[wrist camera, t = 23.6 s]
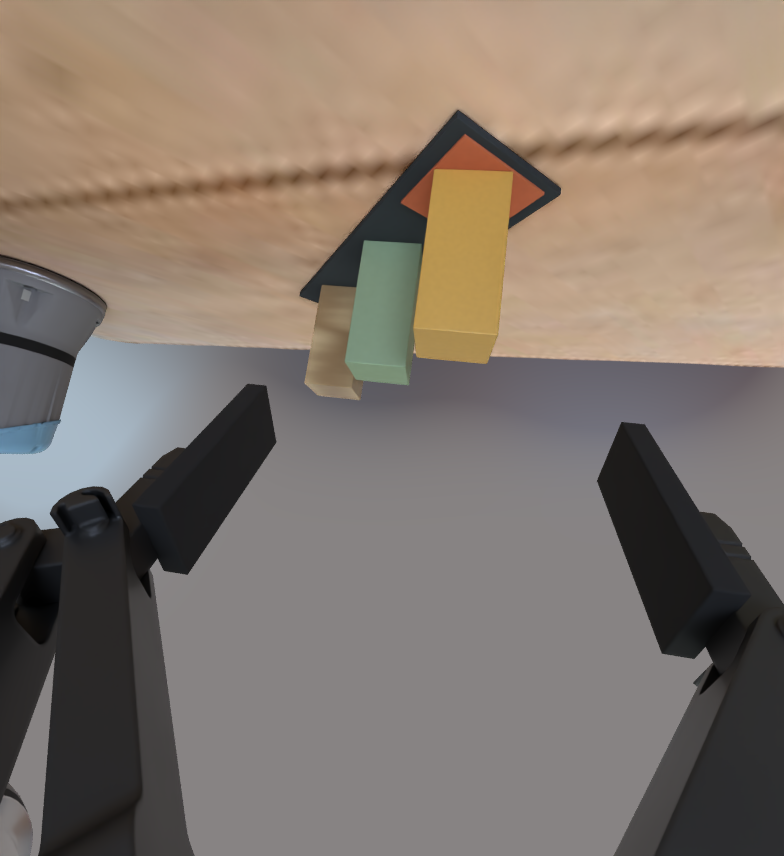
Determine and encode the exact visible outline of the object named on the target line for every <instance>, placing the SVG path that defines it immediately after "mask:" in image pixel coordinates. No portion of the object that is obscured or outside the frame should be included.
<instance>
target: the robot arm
mask: <svg viewBox="0 0 784 856" xmlns="http://www.w3.org/2000/svg"><path fill="white" fill-rule="evenodd" d="M106 308H107V307H106V305H105V303H104V302H103V301H102V300H101V299H100V298H99V297H98V296H96V295H95V294H94V293H92V292H91V291H89V290H87V289H86V288H84V287H82V286H80V285H78V284H76V283H74V282H72V281H70V280H68V279H66V278H64V277H61V276H59V275H57V274H54V273H52V272H49V271H47V270H44V269H41V268H39V267H36V266H33V265H30V264H27V263H24V262H20V261H17V260H13V259H9V258H5V257H1V256H0V454H34V453H38V452H42V451H44V450H45V449H47V448H48V447H49V446H50V444H51V442H52V439H53V437H54V433H55V431H56V428H57V425H58V424H59V423H60V421H61V420H59V419H60V415H61V411H62V408H63V404H64V400H65V397H66V393H67V389H68V386H69V382H70V378H71V375H72V371H73V367H74V363H75V360H76V357H77V354H78V352H79V351H80V349H81V348H82V347H83V345H84V344H85V343H86V342H87V340H88V339H89V337H90V336H91V335H92V333H93V331H94V330H95V328H96V327H97V326H99V325H100V324H101V322H102V320H103V319H104V316H105V312H106ZM275 444H276V438H275V432H274V427H273V421H272V415H271V410H270V404H269V399H268V393H267V387H266V386H264V385H255V384H247V385H246V386H245V387H244V388H243V389H242V390H241V391H240V392H239V394H238V395H237V396H236V397H235V398H234V399H233V400H232V401H231V402H230V403H229V404H228V405H227V406H226V407H225V408H224V409H223V410H222V411H221V412H220V413H219V414H218V416H216V418H214V419H213V421H212V422H211V423H210V424H209V425H208V426H207V427H206V428H205V429H204V430H203V431H202V432H201V433H200V434H199V435H198V436H197V437H196V438H195V439H194V440H193V442H191V444H190V445H189V446H188V447H187V448H176V449H174V450H172V451H170V452H169V453H167V454H165V455H163V456H162V457H161V458H160V459H159V460H158V461H157V462H156V463H155V464H154V465H153V466H152V469H149V470H148V471H147V472H146V473H145V474H144V475H143V478H140V479H139V480H138V481H137V482H136V483H135V484H134V485H133V486H132V487H131V488H130V489H129V490H128V491H127V492H126V493H125V494H124V495H123V496H122V497H121V498H120V499H119V500H118V501H117V502H116V503H115V501H114V499H113V497H112V495H111V494H110V492H109V490H108V489H106V488H103V487H87V488H82V489H79V490H77V491H74V492H72V493H70V494H68V495H66V496H65V497H63V498H61V499H60V500H59V501H58V502H57V503H56V504H55V505H54V506H53V507H52V510H51V512H50V515H51V516H52V518H53V519H54V521H55V522H56V524H57V525H58V527H59V528H56V529H47V530H40V528H39V527H38V525H37V524H36V523H35V521H34V520H32V519H29V518H16V519H13V520H9V521H5V522H3V523H0V856H30V853H31V847H32V837H33V831H32V825H31V821H30V818H29V815H28V813H27V810H26V808H25V806H24V804H23V802H22V800H21V798H20V796H19V795H18V793H17V792H16V791H15V790H14V789H13V787H12V786H11V785H10V784H9V783H8V782H9V779H10V776H11V773H12V771H13V768H14V765H15V762H16V759H17V757H18V754H19V751H20V749H21V746H22V743H23V740H24V737H25V735H26V732H27V729H28V726H29V723H30V721H31V718H32V715H33V713H34V710H35V707H36V704H37V701H38V698H39V696H40V693H41V690H42V688H43V685H44V682H45V679H46V676H47V674H48V671H49V668H50V666H51V663H52V660H53V657H54V654H55V664H54V678H53V691H52V703H51V717H50V729H49V743H48V755H47V768H46V782H45V795H44V808H43V821H42V834H41V844H40V851H39V855H38V856H194V853H193V850H192V848H191V845H190V842H189V838H188V834H187V828H186V821H185V814H184V806H183V799H182V791H181V784H180V776H179V769H178V761H177V754H176V746H175V739H174V732H173V724H172V716H171V709H170V701H169V694H168V687H167V679H166V671H165V664H164V656H163V649H162V641H161V634H160V627H159V619H158V612H157V604H156V596H155V589H154V582H153V575H152V573H151V571H150V568H151V566H152V565H153V564H154V562H155V561H156V560H157V558H158V560H159V562H160V564H161V566H162V568H163V570H164V571H168V572H175V573H180V574H186V575H188V573H189V572H190V570H191V569H192V567H193V566H194V564H195V563H196V561H197V560H198V558H199V557H200V555H201V554H202V552H203V551H204V550H205V548H206V546H207V545H208V543H209V542H210V541H211V539H212V537H213V536H214V535H215V533H216V532H217V530H218V529H219V527H220V525H221V524H222V523H223V521H224V520H225V518H226V517H227V515H228V514H229V512H230V511H231V509H232V508H233V506H234V505H235V503H236V502H237V500H238V498H239V497H240V496H241V494H242V493H243V491H244V490H245V488H246V487H247V485H248V484H249V482H250V481H251V479H252V478H253V476H254V475H255V473H256V472H257V470H258V469H259V467H260V466H261V464H262V463H263V461H264V460H265V458H266V457H267V455H268V454H269V452H270V451H271V450H272V448H273V446H274V445H275ZM597 482H598V485H599V487H600V490H601V493H602V495H603V498H604V501H605V503H606V506H607V508H608V511H609V514H610V517H611V519H612V522H613V525H614V527H615V530H616V532H617V535H618V538H619V541H620V543H621V546H622V548H623V551H624V554H625V556H626V559H627V561H628V564H629V567H630V570H631V572H632V575H633V578H634V580H635V583H636V586H637V588H638V591H639V594H640V596H641V599H642V602H643V604H644V607H645V610H646V612H647V615H648V617H649V620H650V623H651V626H652V628H653V631H654V634H655V636H656V639H657V642H658V644H659V647H660V650H661V652H662V654H668V655H674V656H680V657H686V658H692V659H695V658H696V656H697V655H698V654H699V653H700V652H701V651H702V650H703V649H704V648H705V647H706V648H707V650H708V652H709V655H710V657H711V659H712V661H713V663H712V664H711V665H710V666H709V667H708V668H707V669H706V670H705V671H704V672H703V673H702V674H701V675H700V676H699V677H698V678H697V679H696V680H695V682H694V684H695V685H696V686H698V688H697V690H696V692H695V694H694V696H693V698H692V700H691V702H690V704H689V706H688V708H687V710H686V712H685V714H684V716H683V718H682V720H681V722H680V724H679V726H678V728H677V730H676V732H675V734H674V736H673V738H672V740H671V742H670V744H669V746H668V748H667V750H666V752H665V754H664V756H663V758H662V760H661V762H660V764H659V766H658V768H657V770H656V772H655V774H654V776H653V778H652V780H651V782H650V784H649V786H648V788H647V790H646V792H645V794H644V796H643V798H642V800H641V802H640V804H639V806H638V808H637V810H636V812H635V814H634V816H633V818H632V820H631V822H630V824H629V826H628V828H627V830H626V832H625V834H624V836H623V838H622V840H621V843H620V844H619V846H618V849H617V850H616V852H615V854H614V856H784V604H783V603H782V601H781V600H780V598H779V597H778V596H777V594H776V592H775V591H774V590H773V588H772V587H771V585H770V584H769V582H768V581H767V579H766V578H765V576H764V575H763V573H762V572H761V571H760V569H759V568H758V566H757V565H756V563H755V562H754V560H751V556H750V555H749V553H748V552H747V550H746V549H745V547H742V543H741V541H740V540H739V538H738V537H737V535H736V534H735V533H734V531H733V530H732V528H731V527H729V526H728V525H727V524H726V523H725V522H724V521H722V520H721V519H720V518H719V517H718V516H717V515H715V514H713V513H705V512H699V510H698V509H697V507H696V506H695V504H694V502H693V501H692V499H691V498H690V496H689V494H688V493H687V491H686V490H685V488H684V487H683V485H682V483H681V482H680V480H679V478H678V477H677V475H676V474H675V472H674V470H673V469H672V467H671V466H670V464H669V462H668V461H667V459H666V458H665V456H664V455H663V453H662V451H661V450H660V448H659V446H658V445H657V443H656V442H655V440H654V439H653V437H652V435H651V434H650V432H649V431H648V429H647V427H646V426H645V425H644V424H635V423H624V422H621V425H620V427H619V429H618V432H617V434H616V436H615V439H614V441H613V444H612V446H611V448H610V451H609V453H608V456H607V458H606V461H605V463H604V465H603V468H602V470H601V473H600V475H599V477H598V480H597Z"/></svg>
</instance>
